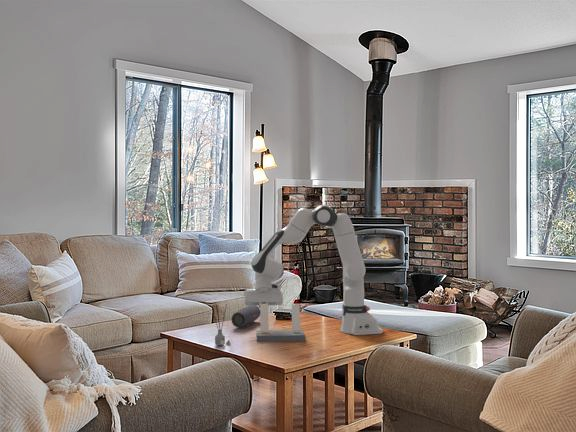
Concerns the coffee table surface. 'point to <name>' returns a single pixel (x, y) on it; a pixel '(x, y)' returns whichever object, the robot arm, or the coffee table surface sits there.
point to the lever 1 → (264, 317)
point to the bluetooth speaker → (245, 316)
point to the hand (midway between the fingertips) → (263, 311)
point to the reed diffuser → (220, 332)
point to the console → (280, 336)
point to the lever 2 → (295, 317)
